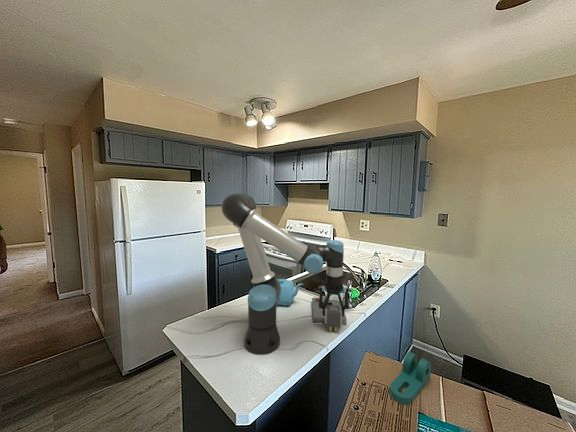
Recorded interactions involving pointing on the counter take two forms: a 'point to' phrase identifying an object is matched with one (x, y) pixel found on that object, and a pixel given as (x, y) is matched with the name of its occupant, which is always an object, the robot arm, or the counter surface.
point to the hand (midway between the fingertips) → (332, 322)
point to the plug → (333, 317)
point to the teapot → (287, 292)
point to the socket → (317, 311)
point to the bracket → (410, 379)
